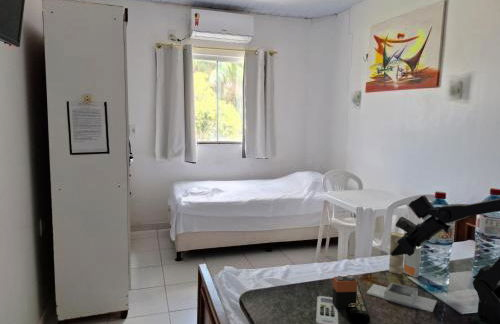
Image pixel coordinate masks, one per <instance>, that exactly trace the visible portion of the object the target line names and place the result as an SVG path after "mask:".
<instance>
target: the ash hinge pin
mask: <svg viewBox="0 0 500 324" xmlns="http://www.w3.org/2000/svg"><path fill="white" fill-rule="evenodd" d="M403 236H405V233H399V232H393V233H391V234H390V246H389V247H390V248H389V265H388V272H389V273H394V274H398V275H401V274H402V273H403V268H404V254H403V255H396V256H392V255H391V253H392V251H393V250H394V249H395V248H396V247H397V246H398V245H399V244H398V243H397V241H398V240H399V239H400V238H401V237H403Z"/></svg>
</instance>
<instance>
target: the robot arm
mask: <svg viewBox="0 0 500 324" xmlns="http://www.w3.org/2000/svg"><path fill="white" fill-rule="evenodd" d="M407 205H408V207H409V208H410V210H411V212H412V213H413V214H414V215H415V216H416V217H417V219H422V220H424V221H422V222H421V223H417V224H415V223H414V222H412V221H411V220H409V219H408V218H406V217H404V216H400V217H399V218H398V220H397V221H396V223H395V224H394V225H395V227H397V228H398V229H401V230H403V231H404V232H405V233H404V234H405V236H403V237H401V238H400V239H399V240H398V241H397V243H398V244H399V245H398V246H397V247H396V248H395V249H394V250H393V251H392V253H391V255H392V256H396V255H403V254H408V256H411V255H412V254H414V253H415V251H416V246H417V247H419V246H421V247H422V244H424V243H426V242H428V241H430V240H431V238H433V237H435V236H436V235H438V234H439V233H440V232H442V231H444V232H445V234H450V233H452V232H451V231H452V230H451V229H452V225H450V224H451V223H453V222H457V221H460V220H463V219H465V218H468V217H472V216H473V217H474V216H477V215H485V214H489V213H496V212H500V198H495V199H490V200H489V199H488V200H485V201H479V202H474V203H467V204H466V203H464V204H463V203H454V204H453V203H451V204H448V205H443V206H436V207H434V205H433V204H432V203H431V202H430V200H429V199H428V198H427V196H426V195H421V196H419V197H418V198H416V199H414V200H412V201H411V202H409V203H408V204H407ZM449 223H450V224H449ZM472 279H473V281H472V286H473V288H474V290H475V291H476V294H477V297H478V304H477V312H476V313H477V316H478V320H480V321H483V322H487V323H491V324H500V257H499V258H498V259H497V260H496V261H495V262H494V263H493V265H492V266H491V265H490V264H487V265H484V266H482V267H481V268H479V269H478V272H477V274H476V275H473V276H472Z"/></svg>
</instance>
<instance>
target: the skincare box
mask: <svg viewBox="0 0 500 324" xmlns="http://www.w3.org/2000/svg"><path fill="white" fill-rule="evenodd" d="M421 247H422V245H421V246H419V247H417V246H416V251H415V253H414V254H412V255H411V256H408V254H404V260H403V271H402V273H405V274H406V275H408V276H411V277H413V278H414V277H417V278H419V277H418V274H419V267H420V261H421Z"/></svg>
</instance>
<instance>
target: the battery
mask: <svg viewBox="0 0 500 324" xmlns="http://www.w3.org/2000/svg"><path fill="white" fill-rule="evenodd" d="M357 290H358V281H357V280H356V279H355V277H354V275H351V274H347V275H346V276H343V275H342V276H341V275H338V276H334V277H333V280H332V299H331V300H332V304H333V306H334V308H336V309H348V308H347V306H348V304H350V303H356V304H357V294H358V292H357Z"/></svg>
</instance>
